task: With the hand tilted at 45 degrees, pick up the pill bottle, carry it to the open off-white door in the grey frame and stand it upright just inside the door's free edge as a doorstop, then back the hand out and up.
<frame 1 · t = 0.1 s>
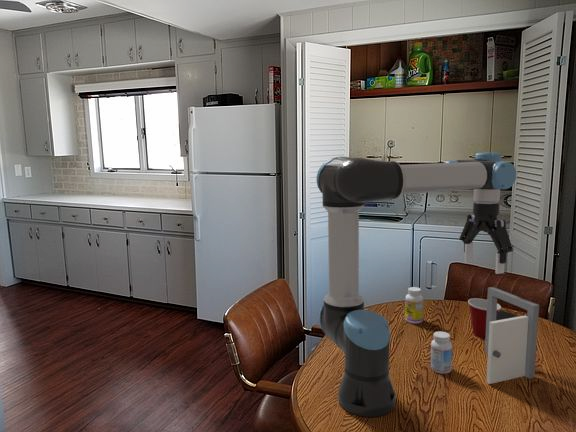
hand: (483, 267, 143), 28 cm above the table, tool pointing down, fingers open, 13 cm apart
door: (509, 350, 126), point 10 cm above the table, hinge at 90.0°
pill bottle: (440, 369, 135), on the table
door frame: (513, 367, 135), on the table
supplement bottle: (413, 321, 172), on the table
phone: (497, 319, 173), on the table
plastic cup: (482, 335, 158), on the table
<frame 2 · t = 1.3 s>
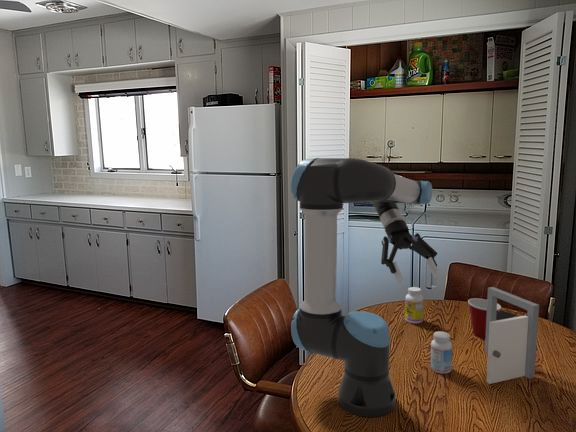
hand: (419, 278, 143), 25 cm above the table, tool tilted 45°, fingers open, 13 cm apart
nothing on the table moved.
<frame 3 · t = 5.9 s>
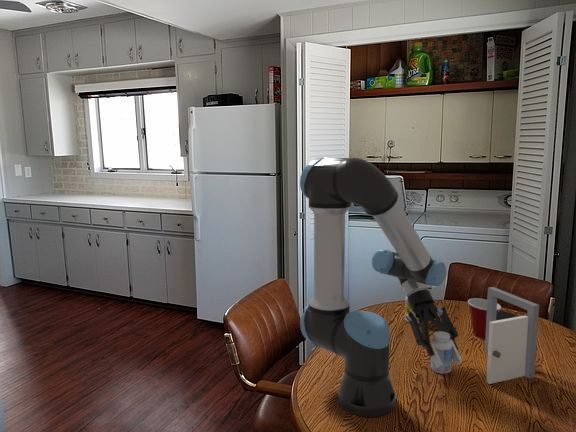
hand: (449, 364, 131), 3 cm above the table, tool tilted 45°, fingers closed on pill bottle, 6 cm apart
pill bottle: (440, 369, 135), on the table, touching gripper
everything else where it was.
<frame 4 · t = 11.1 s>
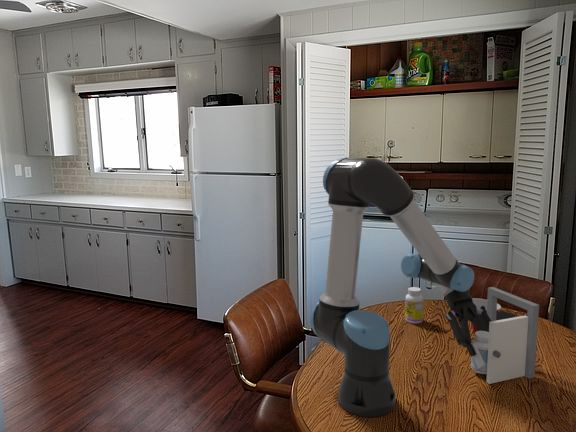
hand: (491, 364, 128), 5 cm above the table, tool tilted 45°, fingers closed on pill bottle, 6 cm apart
pill bottle: (481, 370, 132), point 1 cm above the table, touching gripper
everything else where it was.
when the fingers open (5 cm above the table, at t = 11.1 s): pill bottle drops 1 cm, on the table.
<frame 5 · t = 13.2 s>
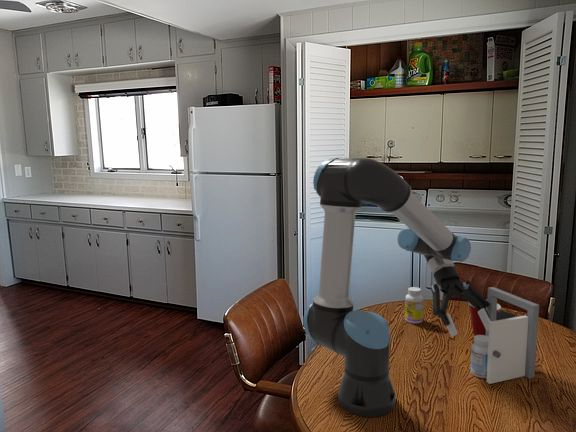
hand: (472, 332, 135), 11 cm above the table, tool tilted 45°, fingers open, 12 cm apart
pill bottle: (481, 374, 132), on the table
everything else where it was.
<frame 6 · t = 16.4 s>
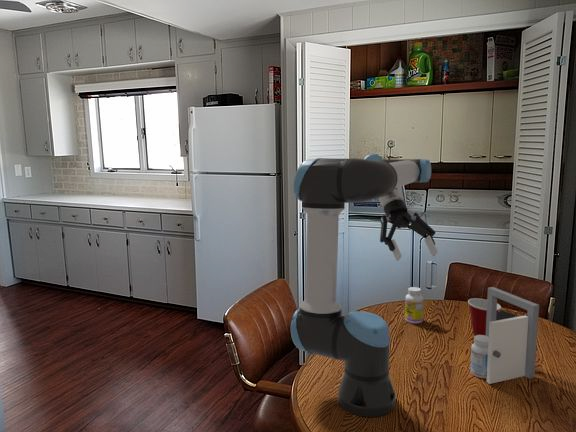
hand: (417, 256, 144), 32 cm above the table, tool tilted 45°, fingers open, 13 cm apart
nothing on the table moved.
at the end: pill bottle 0.2 cm from the target spot, on the table; pill bottle tilted 0°; door at +90° (first picture: +90°) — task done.
